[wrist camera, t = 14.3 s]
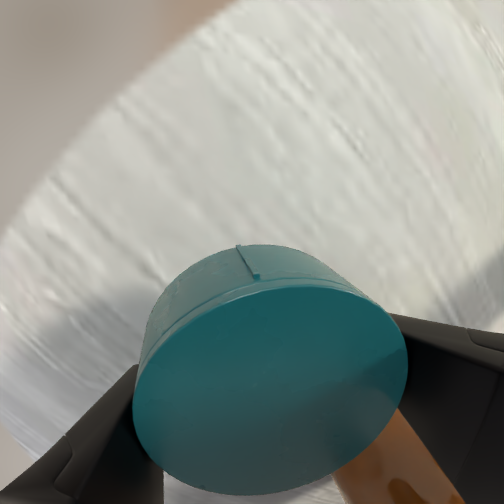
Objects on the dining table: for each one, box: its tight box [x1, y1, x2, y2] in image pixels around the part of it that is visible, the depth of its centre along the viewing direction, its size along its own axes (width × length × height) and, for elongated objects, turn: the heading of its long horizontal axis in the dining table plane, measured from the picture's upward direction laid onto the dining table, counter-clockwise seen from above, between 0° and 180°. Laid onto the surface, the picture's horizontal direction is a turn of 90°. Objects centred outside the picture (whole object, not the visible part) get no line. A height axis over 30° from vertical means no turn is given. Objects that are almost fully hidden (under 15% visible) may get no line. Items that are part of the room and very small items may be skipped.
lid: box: [132, 245, 408, 496], centre depth 7 cm, size 6×6×3 cm
